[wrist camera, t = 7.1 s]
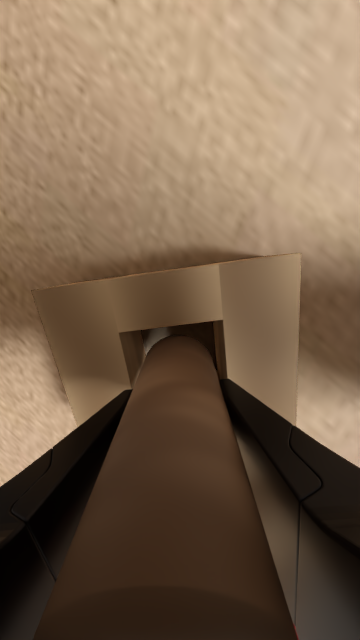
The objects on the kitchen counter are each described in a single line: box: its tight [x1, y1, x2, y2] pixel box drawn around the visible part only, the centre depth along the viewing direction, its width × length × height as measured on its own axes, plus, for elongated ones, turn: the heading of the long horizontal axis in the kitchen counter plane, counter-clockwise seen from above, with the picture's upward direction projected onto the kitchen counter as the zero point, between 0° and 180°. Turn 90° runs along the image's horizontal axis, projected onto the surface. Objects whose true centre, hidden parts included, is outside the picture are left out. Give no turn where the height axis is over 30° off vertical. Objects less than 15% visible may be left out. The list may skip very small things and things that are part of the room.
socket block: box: [31, 253, 301, 427], centre depth 12 cm, size 12×10×4 cm
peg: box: [33, 335, 298, 640], centre depth 7 cm, size 4×4×8 cm
